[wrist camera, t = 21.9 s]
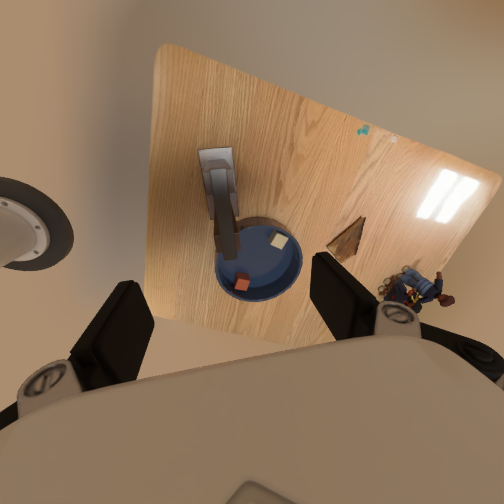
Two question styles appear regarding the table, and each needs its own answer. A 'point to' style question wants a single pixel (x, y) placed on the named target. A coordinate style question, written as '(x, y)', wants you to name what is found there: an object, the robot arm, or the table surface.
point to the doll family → (418, 285)
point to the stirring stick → (223, 211)
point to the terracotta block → (241, 281)
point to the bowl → (260, 261)
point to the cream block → (277, 239)
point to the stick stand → (207, 161)
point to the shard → (347, 242)
